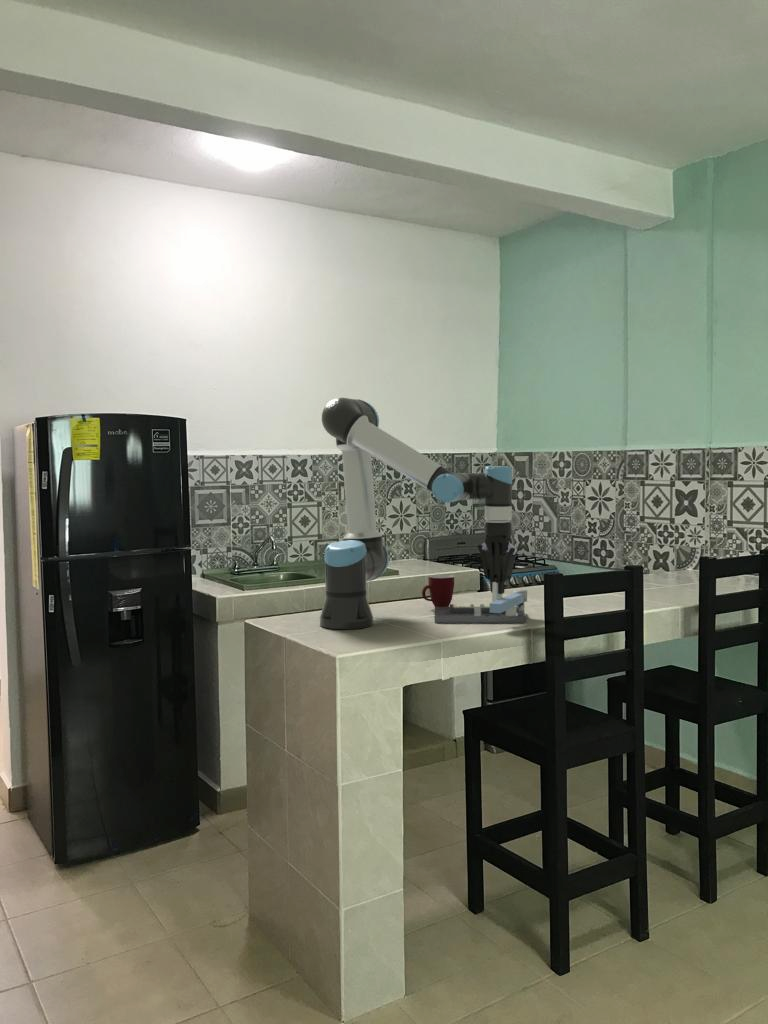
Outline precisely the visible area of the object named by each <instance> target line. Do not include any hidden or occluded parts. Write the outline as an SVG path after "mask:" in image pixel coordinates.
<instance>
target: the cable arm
mask: <svg viewBox="0 0 768 1024" xmlns="http://www.w3.org/2000/svg"><path fill="white" fill-rule="evenodd" d="M523 602H524V603H526V602H528V590H526V589H514V590H513V591H512V593H510V594H508V595H506V596H502V598H501V599H499V600H496V601H494V602H490V603H489V604H490V613H502V612H504V611H506V610H508V609H510V608H512V607H516V606H517V605H519V604H521V603H523Z"/></svg>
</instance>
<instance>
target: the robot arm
mask: <svg viewBox="0 0 768 1024" xmlns="http://www.w3.org/2000/svg"><path fill="white" fill-rule="evenodd" d="M379 418H380V417H379V415H378V412H377V409H375V407H374V406H373V405H371V404H370V403H369V402H367V401H365V400H362V399H355V398H348V397H337V398H334V399H332V400H330V401H328V402H327V404H326V405H325V406H324V408H323V410H322V413H321V423H322V426H323V428H324V430H325V431H326V432H327V434H329V435H330V436H332V437H333V438H335V443H336V448H337V449H339V450H340V451H341V454H342V455H341V457H342V470H343V482H344V483H343V484H344V494H345V496H344V497H345V510H346V525H347V533H346V534H345V535H344V536H343V540H341V541H335V542H332V543H329V544H328V545H327V546H326V547H325V550H324V557H323V559H324V573H325V575H324V576H325V577H324V578H325V580H324V581H325V598H324V602H323V606H322V610H321V613H320V617H319V625H320V627H322V628H326V629H330V630H331V629H332V630H354V629H363V628H368V627H371V626H373V625H374V615H373V613H372V610H371V606H370V604H369V600H368V597H367V583H368V582H372V581H374V580H376V579H378V578H379V577H381V576H382V575H383V574H384V573H385V572H386V570H387V569H388V566H389V562H390V555H389V552H388V549H387V547H386V546H385V545H384V543H383V535H382V533H381V532H379V530H378V529H377V518H376V504H375V492H374V490H375V489H374V478H373V477H374V475H373V465H372V464H373V463H372V457H374V458H375V459H377V460H379V461H380V462H381V463H383V464H385V465H387V466H388V467H390V468H391V469H393V470H395V471H396V472H397V473H399V474H402V475H403V476H404V477H407V478H408V479H409V480H411V481H412V482H415V484H418V485H420V487H423V488H425V490H428V491H429V492H430V493H432V495H433V496H434V498H436V499H437V500H438V501H440V502H442V503H447V504H448V503H449V504H450V503H454V502H458V501H463V500H465V501H467V500H469V501H470V500H478V501H481V500H484V520H485V522H484V534H485V535H484V536H485V538H484V541H483V543H481V544H478V545H477V548H478V552H479V553H480V559H481V562H482V564H481V565H482V570H483V576H484V579H487V580H489V581H490V593H492V595H491V597H492V598H491V599H492V602H494V601H496V600H499V599H501V598H503V595H504V594H505V586H506V585H505V582H506V581H510V580H511V579H512V575H513V570H514V564H515V561H516V556H517V553H519V550H520V548H519V547H515V546H514V545H513V544H512V539H511V535H512V534H513V533H512V530H513V526H512V522H510V521H511V520H513V519H512V516H513V515H512V512H513V509H512V508H513V507H512V506H513V505H512V504H513V503H512V501H513V474H512V472H513V471H512V468H511V467H510V466H508V465H507V466H506V465H495V466H494V465H493V466H492V465H491V466H490V465H488V466H487V465H486V466H485V468H484V472H480V473H477V472H474V473H473V472H452V471H451V470H449V469H448V468H446V467H445V466H444V467H443V466H442V465H441V464H439V463H438V462H436V461H434V460H432V459H431V458H430V457H427V456H426V455H425V454H424V453H421V452H420V451H418V450H416V449H414V448H413V447H411V446H409V445H408V444H406V443H405V442H403V441H401V440H400V439H398V438H396V437H395V436H393V435H391V434H390V433H388V432H387V431H385V430H383V429H382V428H380V426H379V425H380V419H379ZM492 602H491V603H492Z"/></svg>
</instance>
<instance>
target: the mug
mask: <svg viewBox="0 0 768 1024" xmlns="http://www.w3.org/2000/svg"><path fill="white" fill-rule="evenodd" d="M427 582H428V584H427V585H424V586H423V588H422V590H421V595H422V596H421V597H422V598H423V599H424V600H425V601H427V602H431V603H432V604H433V607H434V608H435V607H450V604H451V603H452V600H453V595H454V594H453V593H454V589H455V576H454V575H451V574H432V575H429V576H428V581H427ZM428 589H429V594H430V598H428V597H427V596H426V592H427V590H428Z"/></svg>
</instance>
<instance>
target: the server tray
mask: <svg viewBox="0 0 768 1024" xmlns="http://www.w3.org/2000/svg"><path fill="white" fill-rule="evenodd" d="M512 623H513V624H514V623H515V624H526V623H527V615H526V613H525V602H523V603H521V604H519V605H517V606H514V607H512V608H510V609H508V610H506V611H504V612H502V613H490V603H487V604H486V603H485V604H483V603H482V604H479V606H475V605H474V604H470V603H469V604H468V603H466V604H464V603H461V604H459V603H457V604H455V603H453V604H451V603H450V605H449V607H435V606H434V624H512Z"/></svg>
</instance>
